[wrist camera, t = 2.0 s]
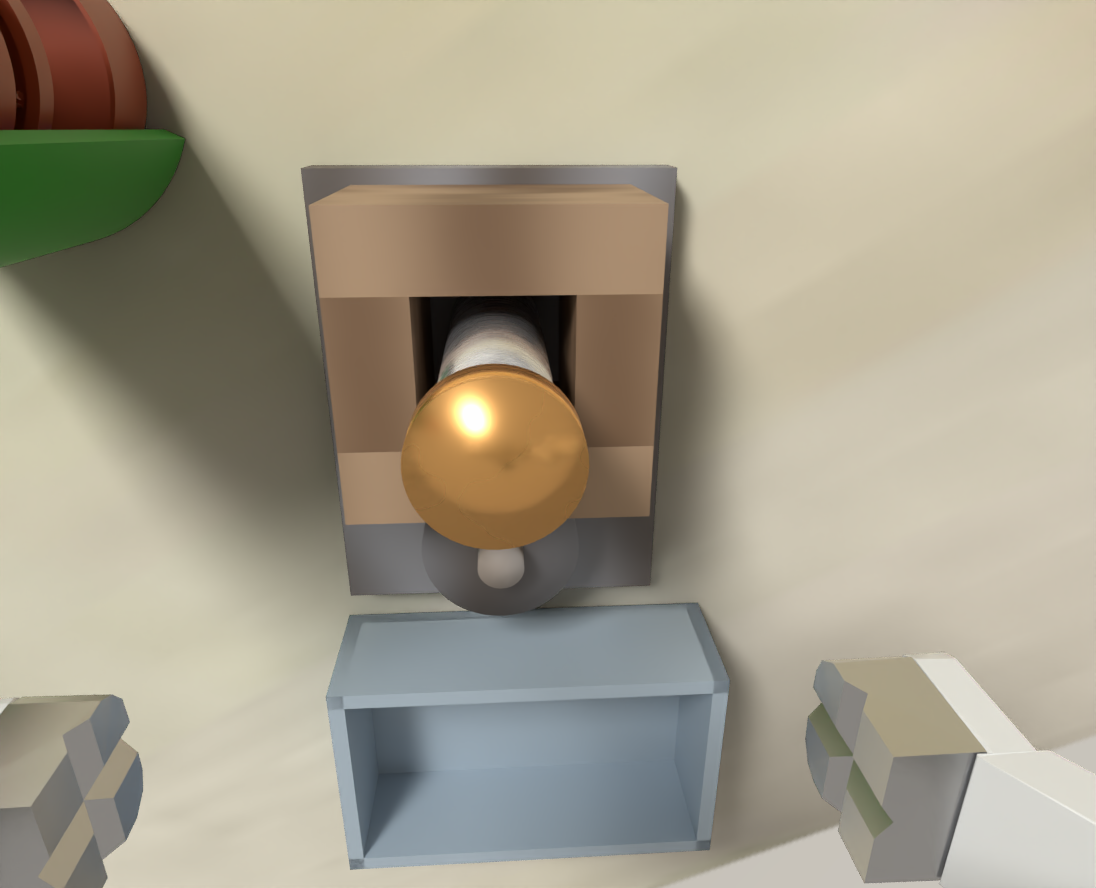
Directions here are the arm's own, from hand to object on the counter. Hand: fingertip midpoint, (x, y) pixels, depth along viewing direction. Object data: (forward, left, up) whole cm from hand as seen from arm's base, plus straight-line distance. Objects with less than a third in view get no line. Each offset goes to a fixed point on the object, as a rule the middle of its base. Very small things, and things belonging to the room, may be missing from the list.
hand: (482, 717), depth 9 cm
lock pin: (0, 0, -19) cm, 19 cm away
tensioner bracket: (0, +3, -21) cm, 21 cm away
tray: (-1, +17, -21) cm, 27 cm away
